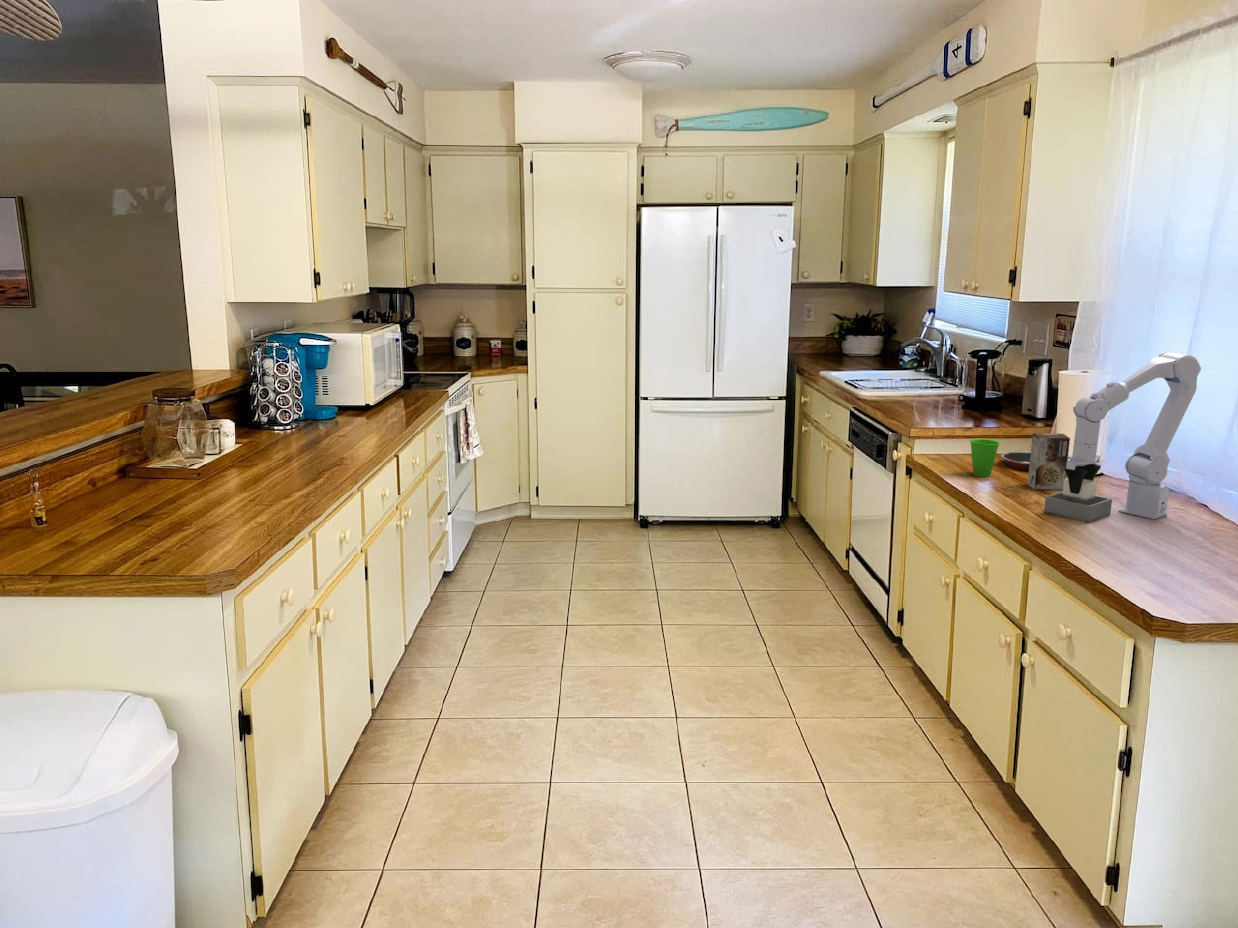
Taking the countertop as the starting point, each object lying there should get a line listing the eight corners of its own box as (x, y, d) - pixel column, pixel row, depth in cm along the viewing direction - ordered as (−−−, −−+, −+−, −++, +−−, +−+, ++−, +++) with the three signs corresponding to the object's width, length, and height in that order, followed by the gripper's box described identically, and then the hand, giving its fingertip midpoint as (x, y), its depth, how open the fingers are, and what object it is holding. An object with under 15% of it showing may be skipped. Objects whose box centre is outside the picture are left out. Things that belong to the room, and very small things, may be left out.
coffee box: (1057, 484, 285) (1063, 433, 281) (1065, 490, 279) (1071, 437, 275) (1026, 483, 286) (1032, 432, 282) (1033, 489, 280) (1039, 436, 276)
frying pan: (1048, 460, 317) (1050, 450, 317) (1089, 484, 286) (1090, 472, 285) (992, 459, 318) (993, 449, 318) (1026, 483, 287) (1027, 471, 287)
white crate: (1094, 497, 253) (1097, 481, 251) (1085, 500, 250) (1088, 484, 248) (1071, 492, 258) (1073, 476, 256) (1062, 495, 255) (1064, 479, 253)
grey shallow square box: (1110, 515, 254) (1112, 499, 253) (1088, 522, 246) (1090, 506, 245) (1066, 505, 263) (1067, 489, 262) (1043, 512, 256) (1045, 496, 255)
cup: (960, 473, 299) (963, 439, 296) (981, 470, 302) (984, 437, 300) (981, 479, 291) (985, 445, 288) (1003, 476, 294) (1006, 442, 292)
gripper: (1084, 437, 257) (1078, 484, 261) (1057, 443, 249) (1051, 492, 252) (1110, 441, 252) (1103, 489, 255) (1083, 448, 243) (1077, 498, 246)
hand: (1079, 491), depth 253 cm, fingers closed on white crate, 5 cm apart
